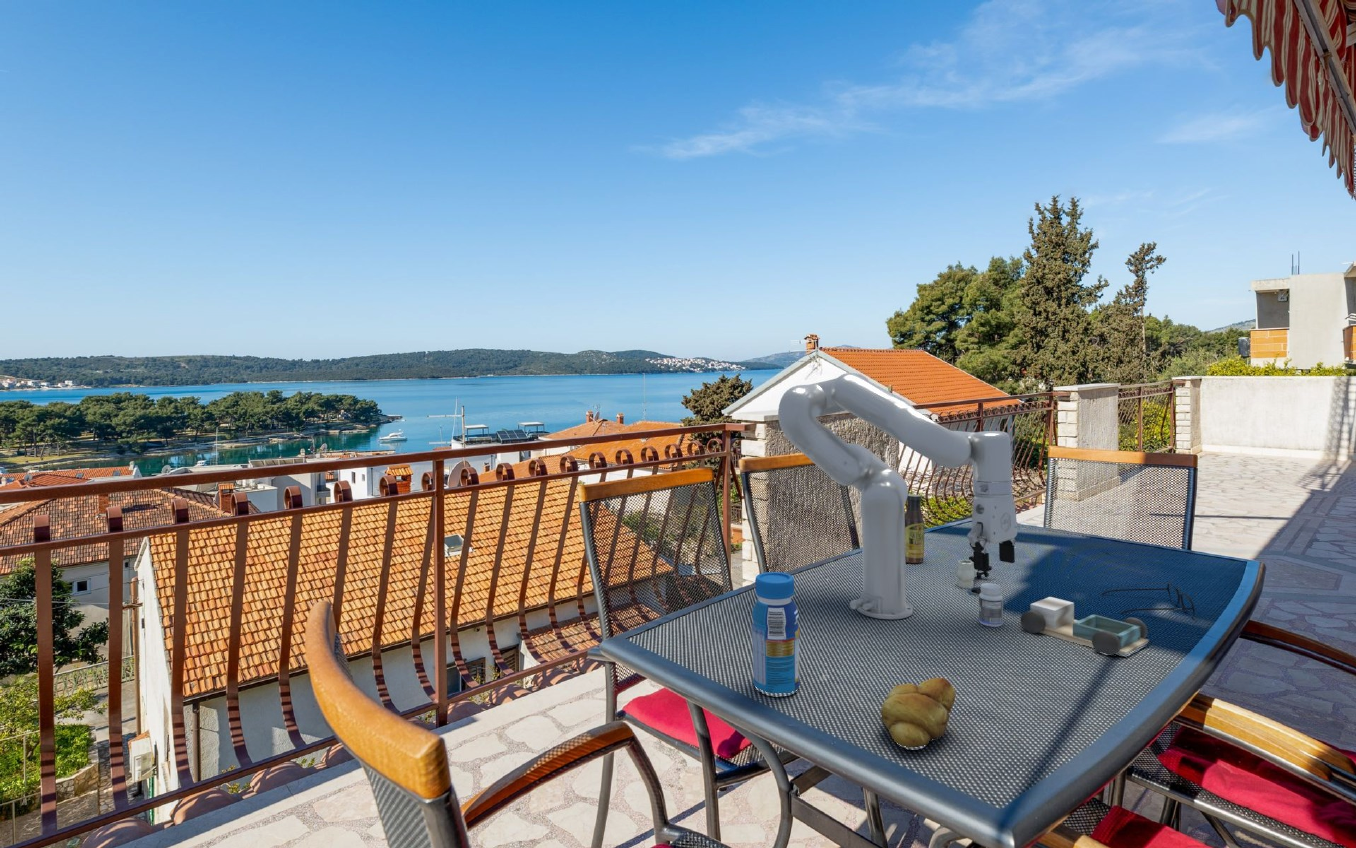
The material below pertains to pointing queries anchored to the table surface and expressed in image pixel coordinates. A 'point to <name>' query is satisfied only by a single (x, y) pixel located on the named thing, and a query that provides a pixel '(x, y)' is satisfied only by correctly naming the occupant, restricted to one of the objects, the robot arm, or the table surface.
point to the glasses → (1161, 608)
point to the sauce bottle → (914, 530)
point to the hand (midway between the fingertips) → (994, 566)
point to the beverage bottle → (775, 634)
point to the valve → (968, 573)
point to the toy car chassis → (1084, 627)
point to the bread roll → (918, 711)
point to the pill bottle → (991, 605)
